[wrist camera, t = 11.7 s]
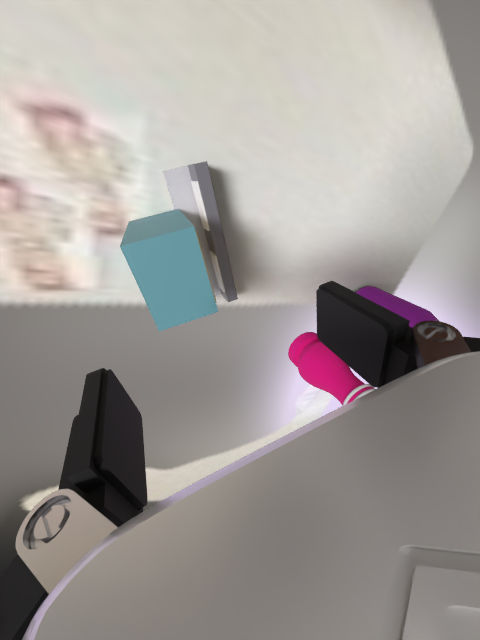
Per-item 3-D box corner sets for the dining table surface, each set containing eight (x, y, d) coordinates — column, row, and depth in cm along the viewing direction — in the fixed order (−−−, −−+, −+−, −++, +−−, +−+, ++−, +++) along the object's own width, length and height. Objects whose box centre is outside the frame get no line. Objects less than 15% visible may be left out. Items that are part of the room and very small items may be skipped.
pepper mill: (278, 348, 40) (380, 462, 24) (313, 320, 40) (439, 415, 24) (295, 371, 45) (391, 481, 28) (326, 346, 45) (440, 442, 29)
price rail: (198, 162, 24) (207, 161, 22) (229, 289, 32) (237, 298, 30) (162, 171, 24) (167, 170, 21) (202, 299, 31) (209, 309, 29)
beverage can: (347, 332, 45) (408, 375, 35) (333, 307, 41) (398, 347, 31) (380, 304, 45) (450, 338, 35) (369, 274, 40) (446, 305, 31)
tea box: (155, 285, 28) (159, 331, 20) (129, 221, 25) (120, 246, 16) (199, 272, 29) (219, 311, 21) (180, 208, 25) (196, 225, 17)
